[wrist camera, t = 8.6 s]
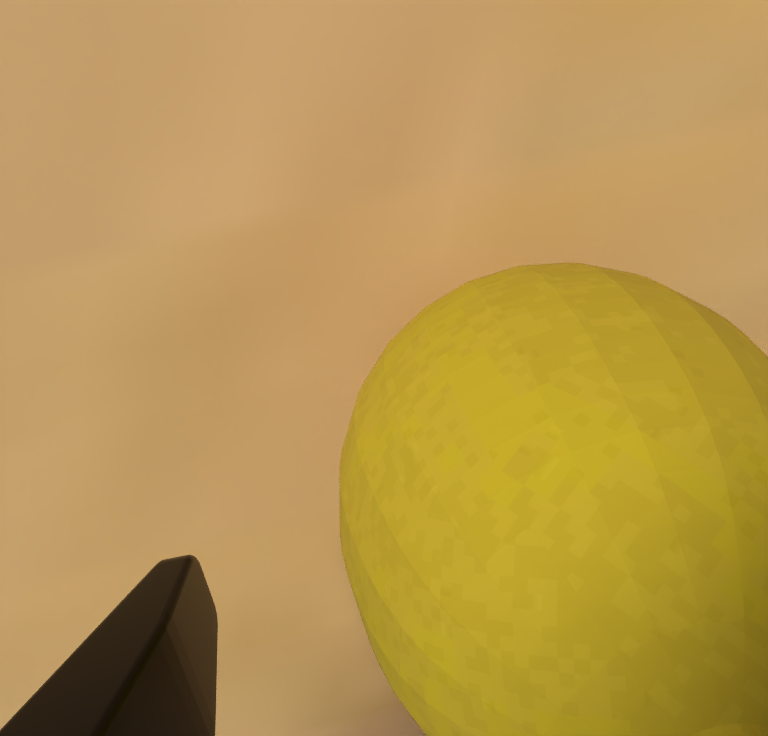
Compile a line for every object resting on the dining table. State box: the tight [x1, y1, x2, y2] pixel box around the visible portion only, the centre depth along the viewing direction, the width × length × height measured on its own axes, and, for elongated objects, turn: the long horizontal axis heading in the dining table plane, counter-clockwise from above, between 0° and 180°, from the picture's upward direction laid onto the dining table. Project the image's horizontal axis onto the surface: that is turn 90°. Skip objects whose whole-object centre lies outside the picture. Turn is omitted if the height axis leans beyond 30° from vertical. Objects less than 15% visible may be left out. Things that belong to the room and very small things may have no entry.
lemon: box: [340, 263, 768, 736], centre depth 9 cm, size 6×6×8 cm
